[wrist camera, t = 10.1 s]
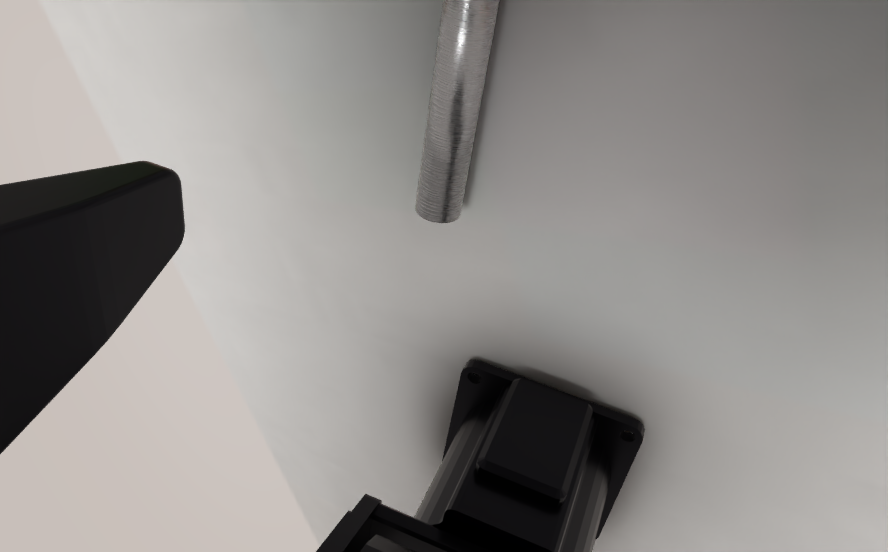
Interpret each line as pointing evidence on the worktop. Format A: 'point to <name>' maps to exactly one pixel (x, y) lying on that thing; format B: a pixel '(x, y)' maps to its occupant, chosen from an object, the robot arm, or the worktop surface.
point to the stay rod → (454, 106)
